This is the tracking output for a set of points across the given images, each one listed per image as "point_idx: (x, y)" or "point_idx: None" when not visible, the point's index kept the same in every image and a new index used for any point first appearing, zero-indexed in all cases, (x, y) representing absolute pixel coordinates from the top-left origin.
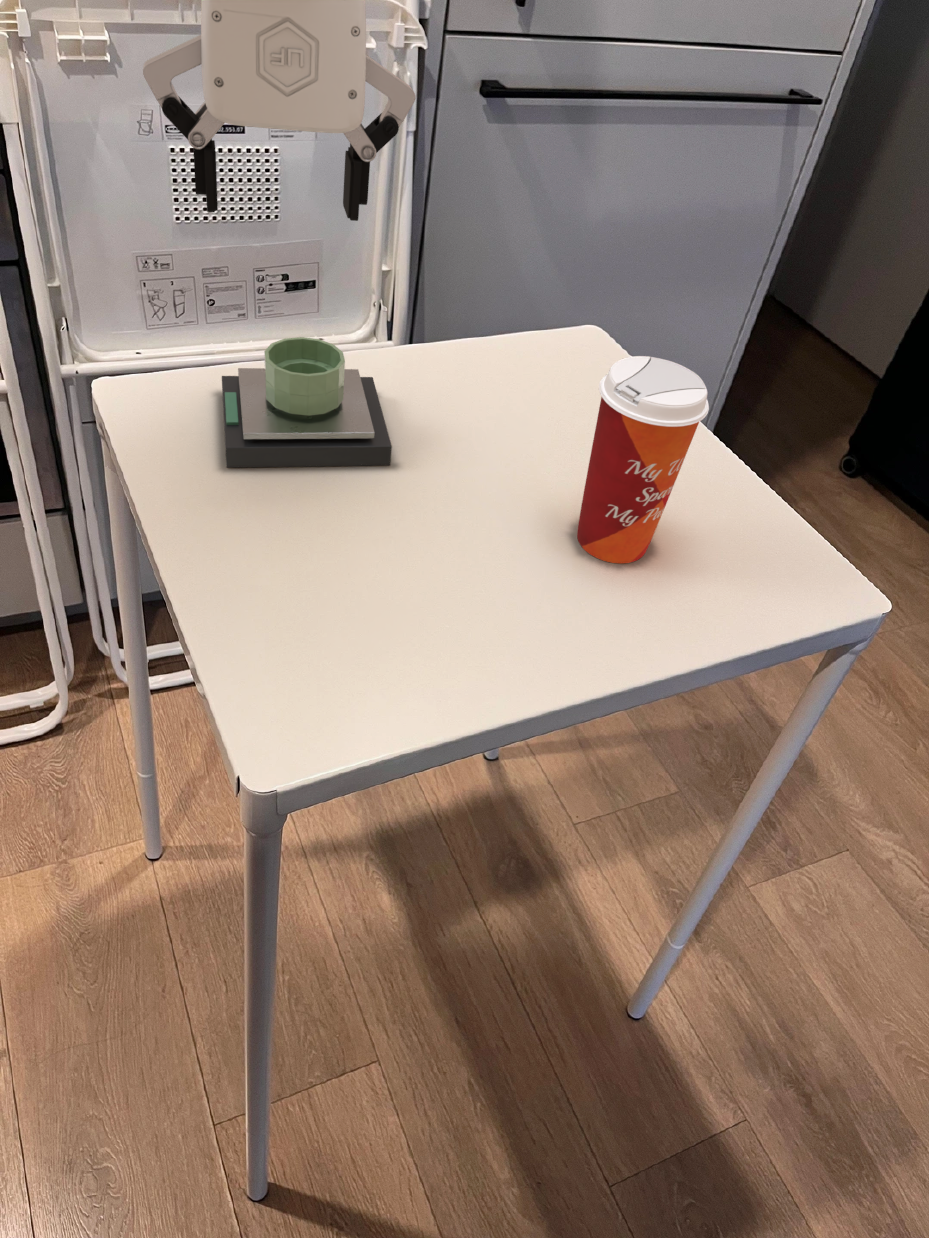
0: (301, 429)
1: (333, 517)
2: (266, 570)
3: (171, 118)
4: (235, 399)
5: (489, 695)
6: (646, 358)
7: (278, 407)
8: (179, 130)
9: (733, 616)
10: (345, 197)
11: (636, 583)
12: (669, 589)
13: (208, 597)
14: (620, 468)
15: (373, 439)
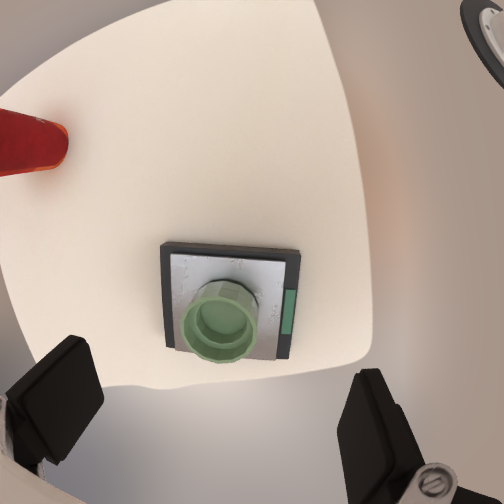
0: (233, 264)
1: (221, 174)
2: (282, 116)
3: (483, 501)
4: (283, 323)
5: (165, 13)
6: None
7: (249, 293)
8: (464, 488)
9: (30, 89)
10: (87, 393)
11: (55, 107)
12: (44, 105)
13: (325, 95)
14: (17, 115)
15: None
